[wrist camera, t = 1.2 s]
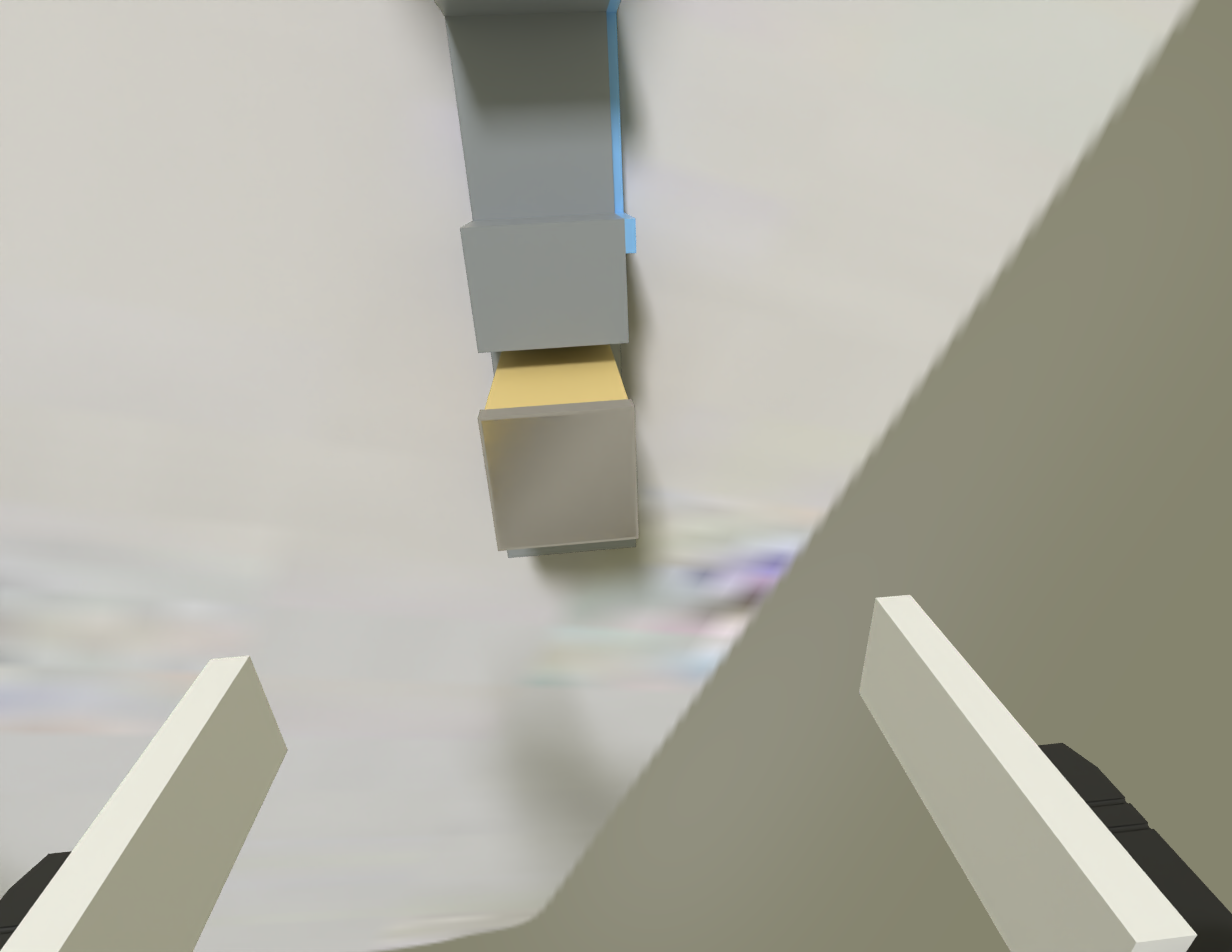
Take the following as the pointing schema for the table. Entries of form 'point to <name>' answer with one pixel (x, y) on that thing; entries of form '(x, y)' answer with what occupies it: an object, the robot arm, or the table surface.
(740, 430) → the table surface
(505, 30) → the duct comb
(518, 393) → the tan yellow block
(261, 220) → the table surface
